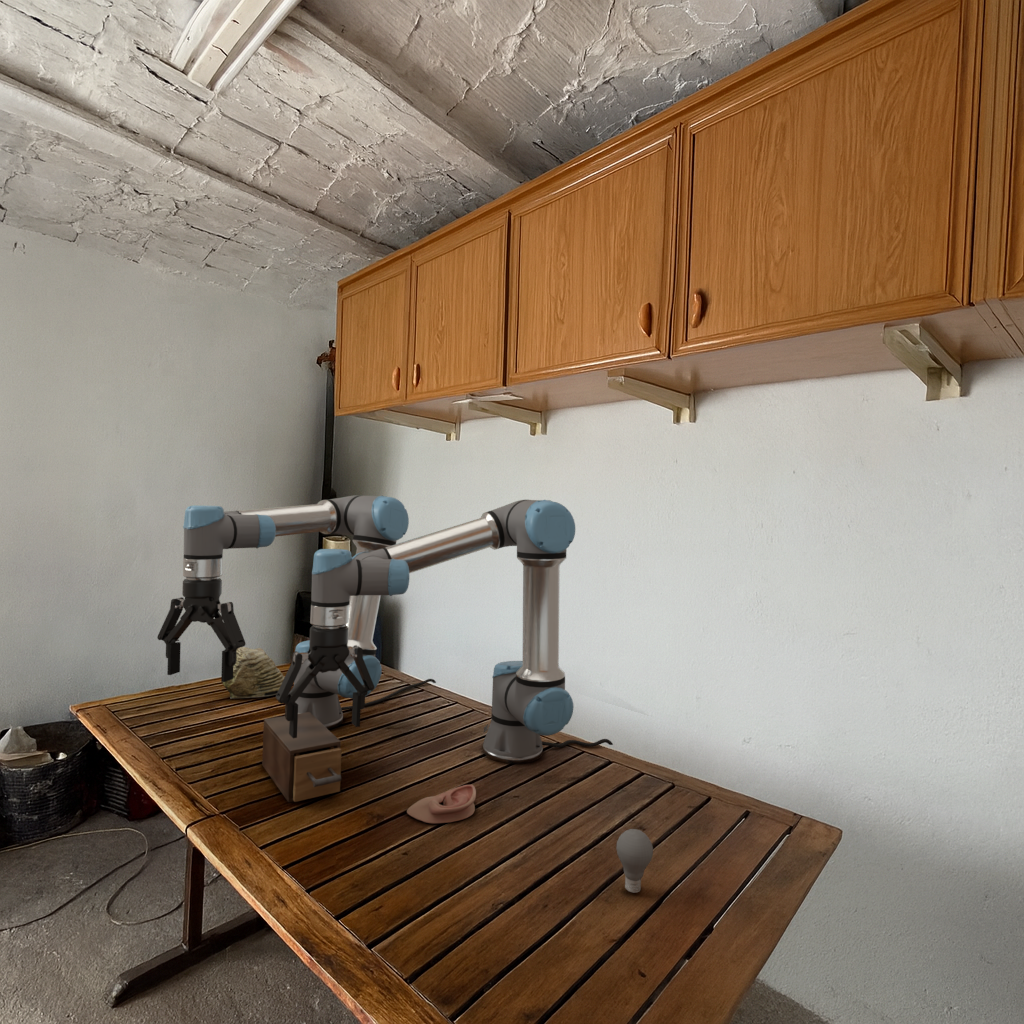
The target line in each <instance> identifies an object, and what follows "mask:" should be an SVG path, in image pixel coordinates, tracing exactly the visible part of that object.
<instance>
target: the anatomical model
mask: <svg viewBox="0 0 1024 1024" xmlns="http://www.w3.org/2000/svg"><path fill="white" fill-rule="evenodd" d="M476 798H477V790H476V787H475V785H473V784H464V785H460V786H458V787H454V788H451V789H449V790H447V791H443V792H442V793H440V794H437V795H434V796H433V795H432V796H427V797H424V798H421V799H419V800H417V801H416V802H415V803H413V804H412V805H411V806H409V807H408V809H407V810H406V814H407V815H409V816H410V817H412V818H414V819H415V820H417V821H421V822H423V823H427V824H445V823H454V822H458V821H462V820H465V819H467V818H469V817H471V816H472V815H473V814H474V813H475V809H476V807H475V806H476V805H475V803H474V802H475V800H476Z"/></svg>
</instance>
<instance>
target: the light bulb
mask: <svg viewBox="0 0 1024 1024" xmlns="http://www.w3.org/2000/svg"><path fill="white" fill-rule="evenodd" d="M615 849H616V854H617V857H618V859H619V861H620V863H621V865H622V867H623V873H624V874H623V875H624V876H625V878H624V888H625V890H627V891H628V892H630V893H634V894H635V893H639V892H640V891H641V889H642V887H641V886H642V879H643V877H644V875H645V871H646V868H647V867H648V866H649V864H650V863H651V861H652V859H653V855H654V847H653V843H652V841H651V838H649V836H648V835H647V834H646V833H645V832H643V831H642V830H641V829H636V828H629V829H627V830H625V831H623V832H622V833H621V834H620V835H619V837H618V839H617V841H616V847H615Z"/></svg>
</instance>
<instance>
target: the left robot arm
mask: <svg viewBox="0 0 1024 1024" xmlns="http://www.w3.org/2000/svg"><path fill="white" fill-rule="evenodd" d="M409 518H410V517H409V513H408V511H407V508H406V507H405V505H404V504H403V502H401V500H400V499H397V498H396V497H392V496H387V495H360V494H354V495H348V496H343V497H337V498H336V497H335V498H330V499H322V500H319V501H318V502H317V503H314V504H313V503H312V504H301V505H288V506H287V505H286V506H275V507H264V508H250V509H237V510H226V511H225V509H224V508H223V507H222V506H220V505H200V504H199V505H198V504H197V505H189V506H187V507H186V509H185V512H184V519H183V526H182V528H183V561H182V562H183V563H182V565H183V566H182V576H183V577H184V579H183V580H182V593H181V594H182V597H176V598H172V599H171V600H170V607H169V610H168V613H167V615H166V616H165V618H164V621H163V623H162V625H161V628H160V630H159V632H158V634H157V640H158V641H163V642H164V644H165V658H166V659H167V676H172V675H175V674H178V673H180V672H181V645H182V643H181V641H180V638H181V636H183V634H184V633H185V631H186V630H187V629H188V628H189V627H190V625H191V624H192V623H193V622H194V623H195V622H199V623H203V624H205V623H206V624H207V625H208V626H210V628H211V629H212V631H213V632H214V633H215V635H216V636H217V639H218V640H219V641H220V643H221V644H222V646H223V647H224V650H222V651H221V677H220V679H221V681H220V682H221V683H223V682H226V681H229V680H231V679H233V665H235V664H236V653H237V649H238V648H240V647H245V646H246V645H247V644H246V640H245V638H244V636H243V633H242V630H241V627H240V625H239V622H238V620H237V617H236V614H235V611H234V610H235V609H234V603H233V602H232V601H227V602H223V603H221V600H220V598H221V596H222V590H223V580H222V578H221V577H222V576H223V556H224V555H223V554H224V550H229V549H259V548H267V547H269V546H271V545H272V544H273V542H274V541H275V540H276V539H275V538H276V537H284V536H293V535H300V534H301V535H302V534H310V533H311V534H312V533H318V532H319V533H321V534H322V535H331V534H332V535H335V534H336V535H337V534H338V535H346V536H353V537H352V542H353V544H354V546H355V547H356V551H355V555H356V554H358V553H361V552H372V551H375V550H379V549H383V548H385V547H388V546H392V545H395V544H397V541H399V540H400V539H402V538H403V537H404V536H405V535H406V534H407V531H408V529H409V523H410V522H409V521H410V520H409ZM381 596H382V595H358V596H350V600H349V622H348V623H347V624H346V626H347V627H348V644H347V646H348V648H353V646H355V645H357V646H359V647H360V648H362V650H363V660H364V662H365V665H366V667H367V669H368V672H369V674H370V677H371V679H372V682H373V684H374V689H373V690H370V691H368V693H367V695H365V698H366V697H368V696H369V695H370V694H371V693H372V692H374V690H375V689H376V688H377V686H378V684H379V682H380V680H381V677H382V671H383V670H382V669H383V668H382V664H381V662H380V660H379V659H378V658H377V657H376V654H377V649H378V648H377V646H376V644H374V643H375V642H374V641H373V639H374V634H375V628H376V624H377V617H378V613H379V607H380V603H381V602H380V601H381ZM183 610H184V612H183ZM182 612H183V614H182ZM309 643H310V639H308V640H304V641H300V642H299V643H298V644H297V645H296V646H295V650H294V652H295V651H297V652H299V653H307V652H308V650H309V647H310V645H309ZM344 662H345V663H346V665H347V666H348V667H349V669H350V670H351V672H352V673H353V674H354V675H355V677H356V678H357V679H358V680H359V682H360V683H361V684H362V685H364V683H363V680H362V678H361V675H360V673H359V671H358V668H357V666H356V663H355V661H354V658H353V657H351V655H350V654H349V655H348V657H347V658H346V660H345V661H344ZM310 663H311V662H310V661H309V660H308V659H306V660H305V662H304V663H303V664H301V668H300V670H299V672H298V675H297V677H296V679H295V681H294V683H293V686H294V685H295V684H296V683H297V681H298V680H299V679H300V677H301V676H302V675H303V674H304V672H305V671H306V668H307V667H308V665H309V664H310ZM430 682H432V683H433V684H437V681H436V680H435V679H433V678H428V679H425V680H423V681H420V682H416V683H414V684H410V685H407V686H405V687H402V688H400V689H398V690H396V691H394V692H392V693H390V694H387V695H385V696H383V697H381V698H378V699H375V700H372V701H368V702H365V707H368V706H372V705H375V704H378V703H381V702H384V701H386V700H388V699H390V698H392V697H395V696H396V695H398V694H400V693H403V692H405V691H408V690H409V689H413V688H416V687H420V686H423V685H425V684H427V683H430ZM353 692H357V690H356V689H355V688H354V686H353V685H352V684H351V683H350V681H349V680H348V679H347V678H346V676H345V675H344V674H343V672H342V671H341V670H340V669H338V670H337V671H328V672H324V673H321V672H318V674H317V675H316V676H315V677H313V679H312V680H311V681H310V683H309V684H308V685H307V687H306V688H305V689H304V691H303V692H302V693H301V695H300V696H299V697H298V699H297V700H296V701H295V702H296V703H297V704H298V714H301V713H307V712H310V713H311V714H312V715H313V716H314V717H315V718H316V719H318V720H319V721H320V722H321V723H322V724H323V725H324V726H325V727H326V728H327V729H328V730H329V731H330V730H332V729H335V728H337V727H339V726H340V725H342V723H343V722H344V714H343V711H348V710H350V711H351V710H352V705H348V706H341V702H340V699H339V696H341V697H343V698H345V699H351V700H353Z"/></svg>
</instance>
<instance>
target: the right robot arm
mask: <svg viewBox="0 0 1024 1024" xmlns="http://www.w3.org/2000/svg"><path fill="white" fill-rule="evenodd" d="M575 536H576V523H575V519H574V517H573V515H572V513H571V511H570V510H569V509H568V508H567V507H566V506H565V505H563V504H561V503H559V502H556V501H553V500H550V499H538V500H537V499H520V500H516V501H513V502H511V503H508V504H505V505H502V506H499V507H497V508H494V509H491V510H488V511H485V512H482V514H481V516H480V517H479V518H477V519H472V520H469V521H467V522H463V523H460V524H457V525H453V526H450V527H448V528H444V529H441V530H437V531H434V532H431V533H428V534H424V535H422V536H418V537H415V538H411V539H408V540H405V541H402V542H398V543H396V544H395V545H392V546H388V547H385V548H383V549H379V550H375V551H372V552H361V553H358V554H356V553H355V555H353V556H352V551H350V550H349V549H342V548H320V549H318V550H316V551H315V552H314V554H313V561H312V562H313V563H312V570H311V597H310V598H311V599H310V600H311V602H310V617H309V618H310V621H309V623H310V624H311V627H310V628H309V640H310V643H309V645H310V647H309V650H308V652H307V653H299V652H297V651H295V650H294V651H293V653H292V656H291V662H290V663H291V664H290V666H289V667H288V670H287V672H286V674H285V676H284V677H285V678H284V680H283V682H282V684H281V686H280V688H279V691H278V693H277V694H276V695H275V700H276V701H277V702H278V703H279V704H284V716H285V718H286V720H287V721H290V723H289V734H290V736H291V737H292V738H297V724H298V704H297V703H296V702H295V701H296V700H297V699H298V697H299V696H300V695H301V693H302V692H303V691H304V689H305V688H306V687H307V685H308V684H309V683H310V681H311V680H312V679H313V677H315V676H316V675H317V674H318V672H321V673H324V672H328V671H337V670H338V669H340V670H341V671H342V672H343V674H344V675H345V676H346V678H347V679H348V680H349V681H350V683H351V684H352V685H353V686H354V688H355V689H356V690H357V692H353V699H352V705H351V706H352V709H351V724H352V725H353V726H354V727H355V728H359V727H361V713H362V710H364V709H365V707H366V706H365V703H366V697H365V695H367V693H368V691H370V690H373V689H374V684H373V682H372V679H371V677H370V674H369V672H368V669H367V667H366V665H365V662H364V660H363V650H362V648H360V647H359V646H357V645H355V646H353V648H348V646H347V644H348V627H347V626H346V624H347V623H348V622H349V600H350V596H358V595H381V596H389V597H392V596H397V595H404V594H405V593H407V591H408V589H409V585H410V574H412V573H415V572H418V571H421V570H424V569H428V568H430V567H433V566H436V565H437V566H438V565H440V564H442V563H445V562H449V561H452V560H455V559H458V558H461V557H465V556H467V555H470V554H473V553H477V552H479V551H483V550H485V549H492V550H499V549H502V548H506V547H507V548H508V547H516V559H517V560H518V561H519V562H520V563H521V564H522V660H507V661H501V662H498V663H496V664H495V665H494V667H493V672H492V673H493V674H492V694H491V697H492V698H491V719H490V720H491V721H490V723H489V724H486V725H485V726H484V727H483V733H485V737H484V740H483V742H482V753H483V754H484V755H485V756H486V757H487V758H489V759H490V760H493V761H496V762H499V763H505V764H525V763H526V764H527V763H531V762H534V761H537V760H539V759H540V758H542V756H543V752H544V751H543V750H544V748H543V747H545V746H546V747H550V748H551V747H552V748H559V749H561V748H564V747H566V746H569V745H578V746H580V747H586V748H596V747H598V746H600V745H603V744H604V743H606V744H608V745H609V746H613V745H614V744H613V742H612V741H611V739H609V738H602V739H599V740H596V741H595V742H586V741H585V742H584V741H581V740H575V739H567V740H565V741H563V742H561V743H555V742H550V741H543V740H542V738H541V737H543V736H544V737H549V736H553V735H555V734H558V733H560V732H561V731H562V730H564V728H565V727H566V726H567V725H568V724H569V722H570V721H571V720H572V717H573V714H574V707H575V706H574V701H573V698H572V695H571V694H570V693H569V692H568V690H566V672H565V671H564V670H563V669H562V668H561V667H560V589H561V588H560V586H561V585H560V584H561V583H560V582H561V581H560V580H561V579H560V577H561V574H560V573H561V565H562V564H563V563H564V561H566V559H567V549H568V548H569V547H570V545H571V544H572V543H573V541H574V539H575ZM349 654H350V655H351V657H353V658H354V661H355V663H356V666H357V668H358V671H359V673H360V675H361V678H362V680H363V683H364V685H362V684H361V683H360V682H359V680H358V679H357V678H356V677H355V675H354V674H353V673H352V672H351V670H350V669H349V667H348V666H347V665H346V663H345V662H344V661H345V660H346V658H347V657H348V655H349ZM306 659H308V660H309V661H310V662H311V663H310V664H309V665H308V667H307V668H306V671H305V672H304V674H303V675H302V676H301V677H300V679H299V680H298V681H297V683H296V684H295V685H294V681H295V679H296V677H297V675H298V672H299V670H300V668H301V664H303V663H304V662H305V660H306ZM374 690H375V689H374ZM374 690H373V691H374ZM367 696H368V695H367Z"/></svg>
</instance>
